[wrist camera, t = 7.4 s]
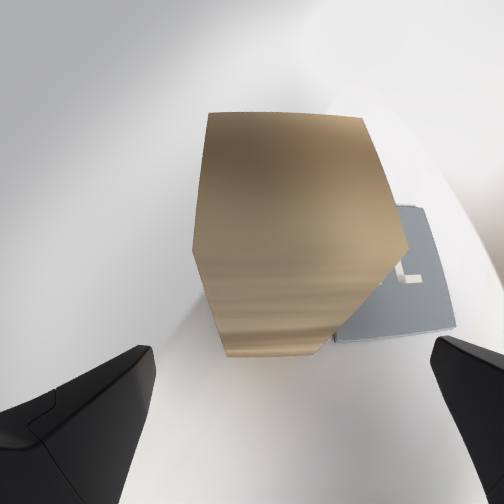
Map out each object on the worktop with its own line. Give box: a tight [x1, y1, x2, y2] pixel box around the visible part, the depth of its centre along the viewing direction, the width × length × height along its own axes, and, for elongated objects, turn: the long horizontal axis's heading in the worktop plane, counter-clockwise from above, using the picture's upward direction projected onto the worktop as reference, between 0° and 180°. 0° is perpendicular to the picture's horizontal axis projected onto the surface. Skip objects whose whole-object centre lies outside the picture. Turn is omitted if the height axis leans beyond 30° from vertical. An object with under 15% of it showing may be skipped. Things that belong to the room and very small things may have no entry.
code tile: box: [334, 206, 456, 343], centre depth 20 cm, size 10×9×1 cm
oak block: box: [193, 112, 409, 357], centre depth 13 cm, size 5×5×12 cm
